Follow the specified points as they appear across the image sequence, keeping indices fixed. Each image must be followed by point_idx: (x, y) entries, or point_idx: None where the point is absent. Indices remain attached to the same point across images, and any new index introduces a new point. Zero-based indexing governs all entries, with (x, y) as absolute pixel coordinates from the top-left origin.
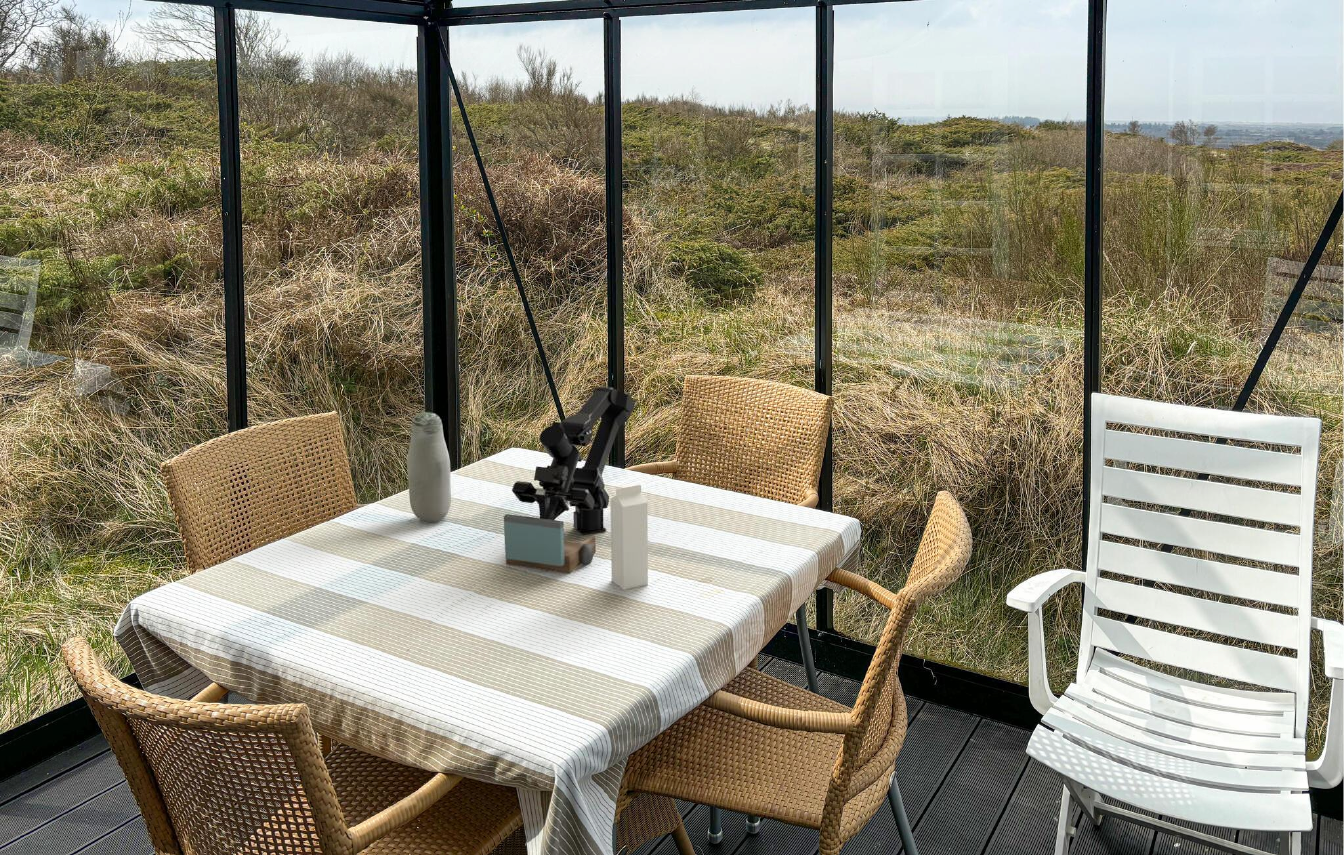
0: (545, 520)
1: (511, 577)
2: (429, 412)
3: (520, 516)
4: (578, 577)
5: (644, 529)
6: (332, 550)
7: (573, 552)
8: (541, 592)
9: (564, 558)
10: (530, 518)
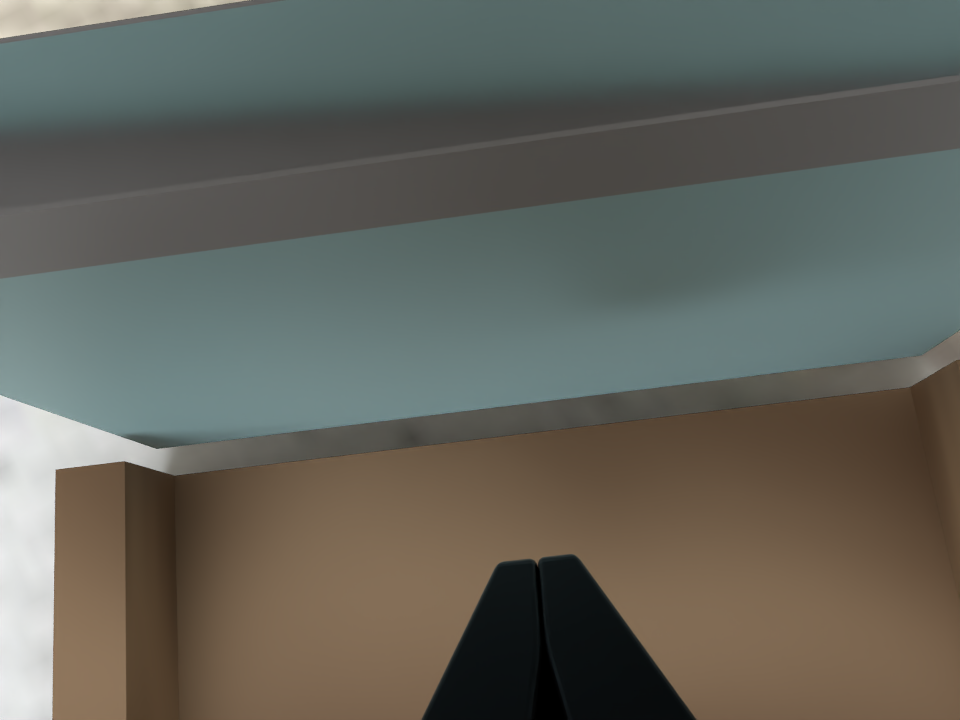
0: (89, 99)
1: None
2: None
3: (925, 40)
4: (33, 447)
5: None
6: None
7: (67, 632)
8: (190, 3)
9: (141, 467)
10: (550, 34)
